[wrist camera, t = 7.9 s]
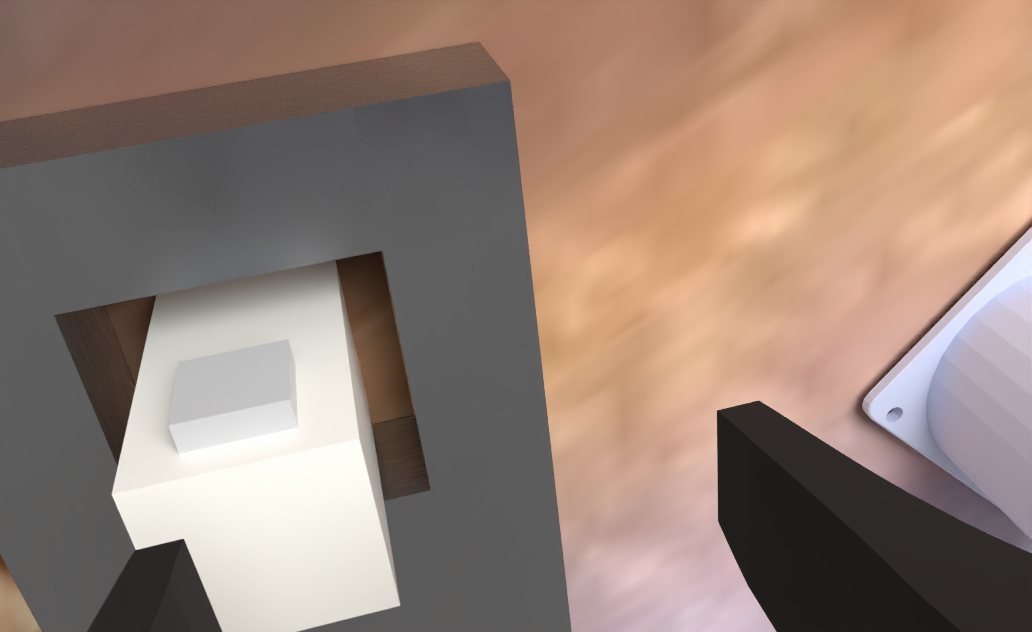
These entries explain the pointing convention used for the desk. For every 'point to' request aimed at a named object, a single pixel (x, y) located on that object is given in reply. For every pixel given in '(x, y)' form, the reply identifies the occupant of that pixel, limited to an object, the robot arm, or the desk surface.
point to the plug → (260, 452)
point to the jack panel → (274, 247)
